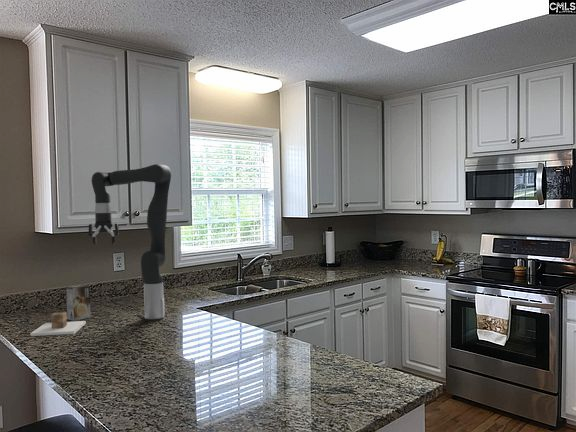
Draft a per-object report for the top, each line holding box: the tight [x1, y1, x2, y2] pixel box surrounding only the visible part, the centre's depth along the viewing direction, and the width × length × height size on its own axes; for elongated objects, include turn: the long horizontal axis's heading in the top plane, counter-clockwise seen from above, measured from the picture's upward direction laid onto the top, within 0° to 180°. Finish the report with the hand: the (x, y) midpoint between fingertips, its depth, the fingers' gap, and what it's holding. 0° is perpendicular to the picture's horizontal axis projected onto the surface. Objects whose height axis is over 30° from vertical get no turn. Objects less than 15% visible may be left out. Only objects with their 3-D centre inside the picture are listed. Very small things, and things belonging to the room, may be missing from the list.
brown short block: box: [50, 311, 68, 329], centre depth 217 cm, size 5×5×6 cm
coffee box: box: [65, 284, 92, 322], centre depth 237 cm, size 9×6×16 cm
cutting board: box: [30, 320, 87, 337], centre depth 217 cm, size 18×18×1 cm
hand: (104, 244), depth 242 cm, fingers open, 8 cm apart
